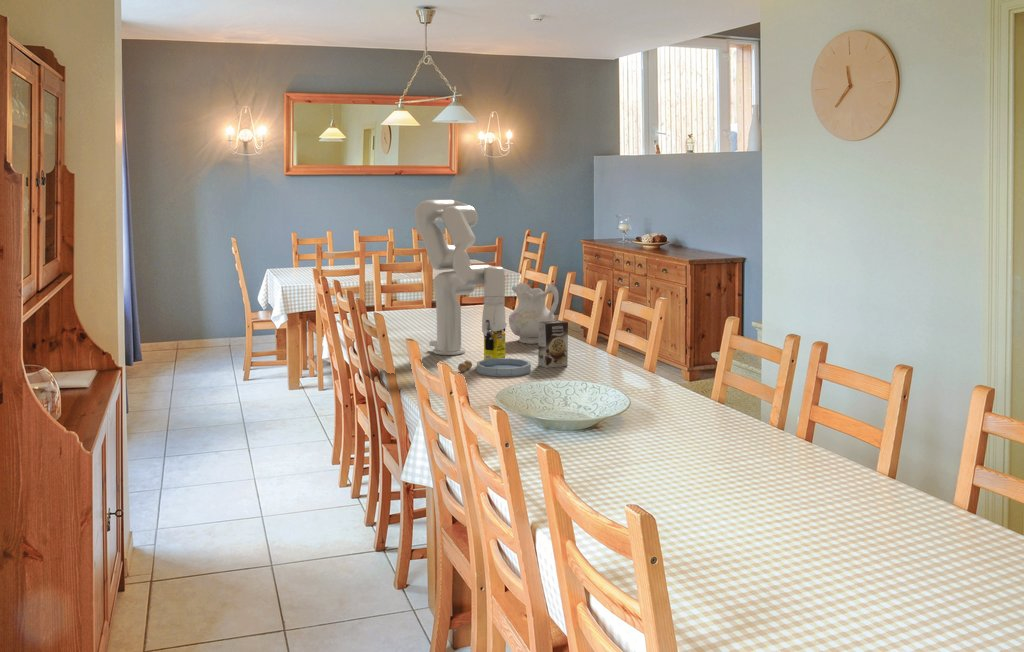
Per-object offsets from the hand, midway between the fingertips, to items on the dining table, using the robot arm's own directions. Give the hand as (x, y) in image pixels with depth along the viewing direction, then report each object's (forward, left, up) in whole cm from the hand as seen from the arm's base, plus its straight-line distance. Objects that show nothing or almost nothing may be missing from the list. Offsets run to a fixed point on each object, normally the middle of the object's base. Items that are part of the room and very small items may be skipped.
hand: (494, 347), depth 335 cm
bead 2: (-2, -16, -5) cm, 17 cm away
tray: (+11, -13, -5) cm, 18 cm away
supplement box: (0, 0, -6) cm, 6 cm away
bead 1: (-1, -21, -5) cm, 22 cm away
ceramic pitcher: (-7, +46, -5) cm, 47 cm away
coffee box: (+22, +4, -5) cm, 23 cm away
